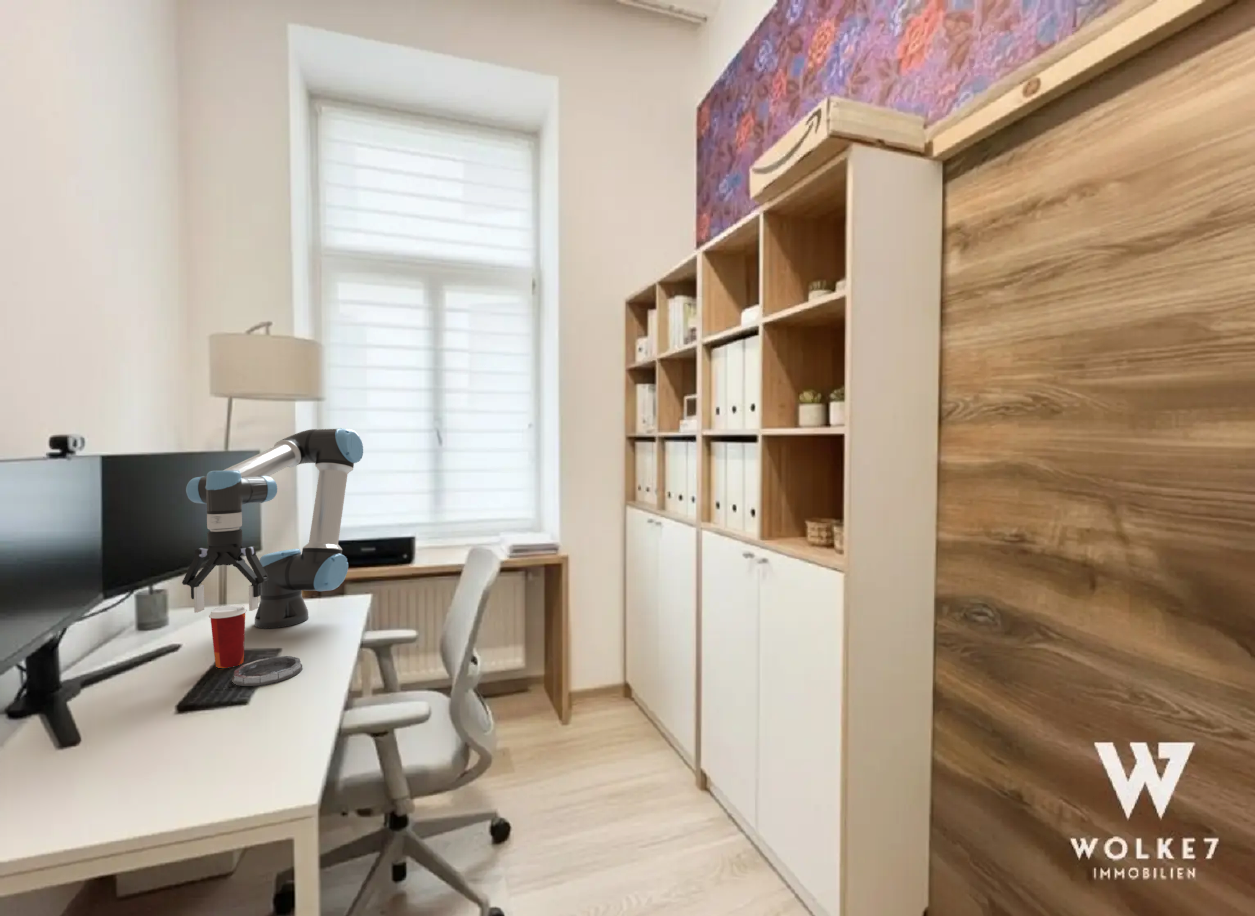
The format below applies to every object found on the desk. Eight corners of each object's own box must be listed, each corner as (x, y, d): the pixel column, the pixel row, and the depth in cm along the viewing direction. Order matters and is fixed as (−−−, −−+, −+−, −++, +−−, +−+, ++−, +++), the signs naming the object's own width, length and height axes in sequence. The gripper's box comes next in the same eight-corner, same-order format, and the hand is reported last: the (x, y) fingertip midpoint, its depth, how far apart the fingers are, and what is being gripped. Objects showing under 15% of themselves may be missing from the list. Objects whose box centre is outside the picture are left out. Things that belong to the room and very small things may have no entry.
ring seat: (254, 664, 152) (254, 656, 152) (313, 661, 153) (313, 654, 153) (217, 688, 137) (217, 680, 137) (283, 685, 138) (283, 677, 138)
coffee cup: (256, 659, 155) (254, 604, 155) (232, 671, 147) (230, 612, 147) (227, 658, 156) (225, 603, 156) (201, 670, 148) (199, 612, 148)
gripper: (164, 532, 146) (166, 616, 146) (266, 530, 148) (268, 612, 148) (184, 528, 154) (186, 608, 154) (282, 526, 155) (283, 604, 156)
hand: (226, 610), depth 151 cm, fingers open, 13 cm apart
